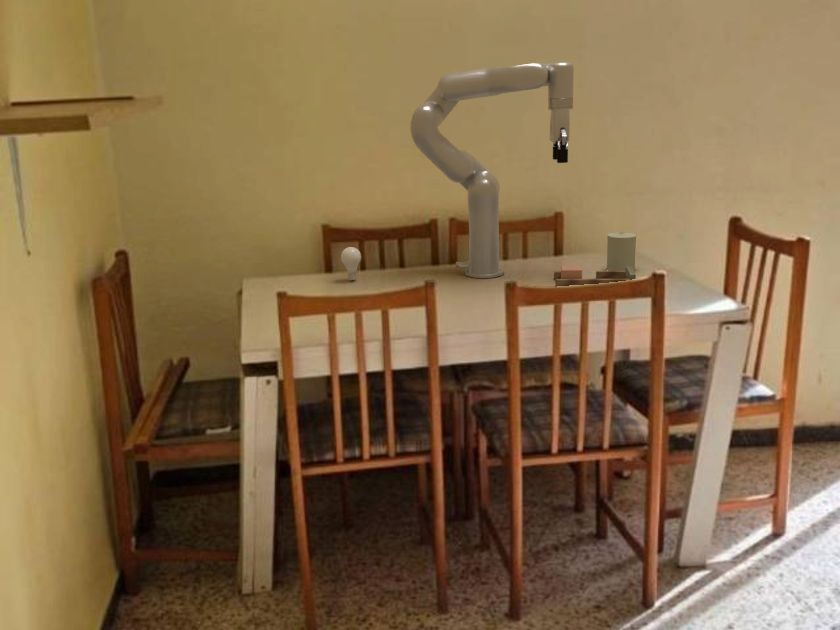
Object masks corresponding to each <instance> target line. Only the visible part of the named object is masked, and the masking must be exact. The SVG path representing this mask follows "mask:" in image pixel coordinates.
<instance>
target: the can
mask: <svg viewBox="0 0 840 630" xmlns="http://www.w3.org/2000/svg"><path fill="white" fill-rule="evenodd" d="M636 243H637V234H636V233H633V232H626V231H625V232H622V231H621V232H619V231H618V232H617V231H616V232H610V233H608V234H607V247H606V248H607V251H606V252H607V254H606V255H607V256H606V270H605V271H607V270H608V271H625V270H626V266H631V268H632V269H633V271H634V272H636V245H637V244H636Z"/></svg>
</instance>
